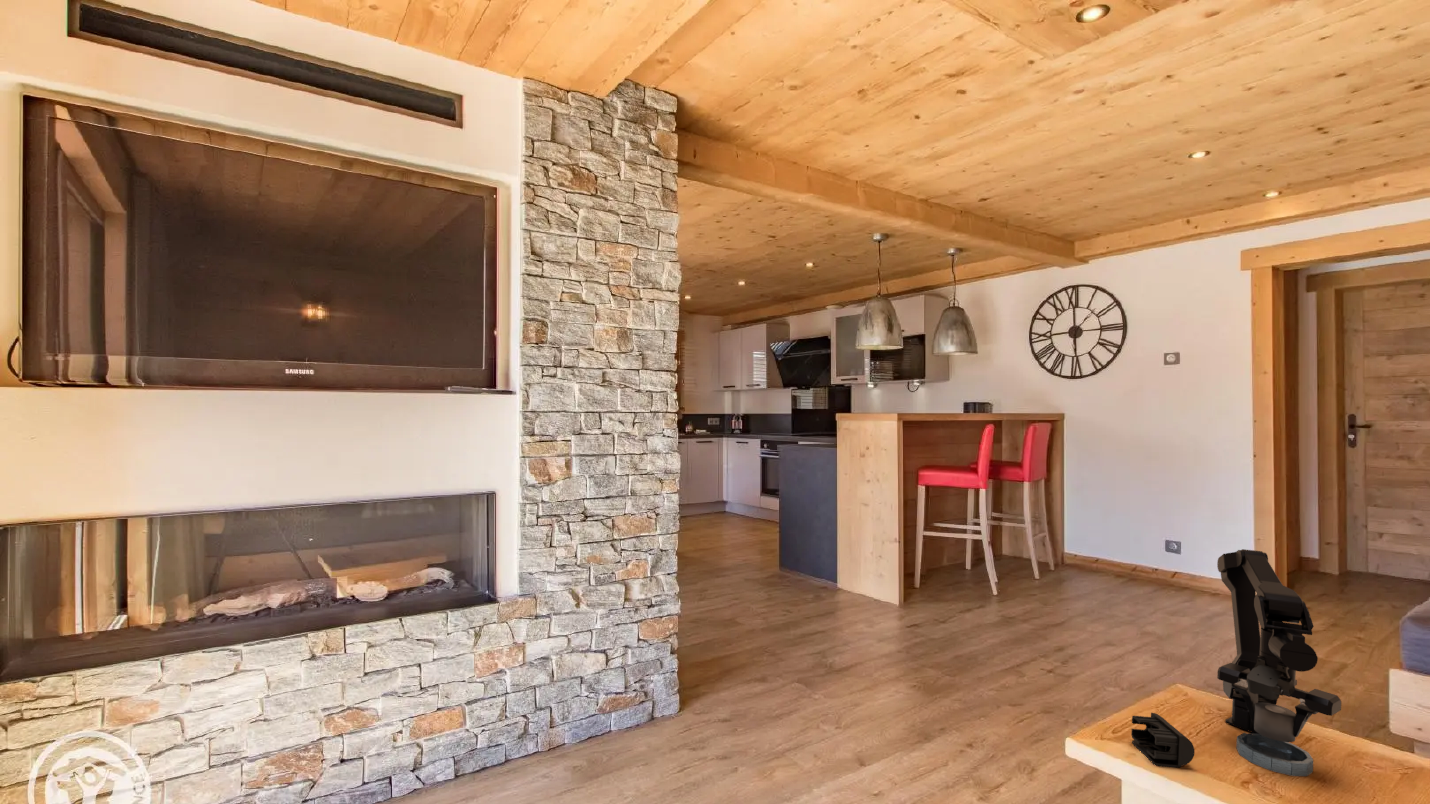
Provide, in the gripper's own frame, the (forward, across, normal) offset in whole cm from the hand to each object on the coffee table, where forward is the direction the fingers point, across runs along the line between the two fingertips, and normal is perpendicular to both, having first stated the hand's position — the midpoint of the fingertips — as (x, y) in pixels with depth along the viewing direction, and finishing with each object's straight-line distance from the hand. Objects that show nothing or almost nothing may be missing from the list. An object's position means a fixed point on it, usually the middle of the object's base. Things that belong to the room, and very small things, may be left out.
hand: (1274, 728), depth 134 cm
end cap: (+7, -12, -20) cm, 24 cm away
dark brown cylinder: (+1, 0, 0) cm, 1 cm away
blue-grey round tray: (+6, 0, 0) cm, 6 cm away
